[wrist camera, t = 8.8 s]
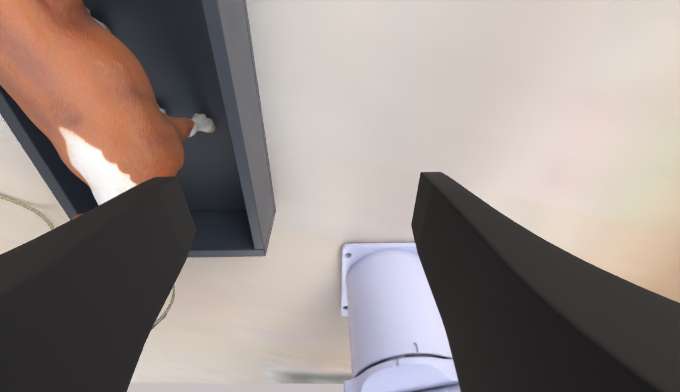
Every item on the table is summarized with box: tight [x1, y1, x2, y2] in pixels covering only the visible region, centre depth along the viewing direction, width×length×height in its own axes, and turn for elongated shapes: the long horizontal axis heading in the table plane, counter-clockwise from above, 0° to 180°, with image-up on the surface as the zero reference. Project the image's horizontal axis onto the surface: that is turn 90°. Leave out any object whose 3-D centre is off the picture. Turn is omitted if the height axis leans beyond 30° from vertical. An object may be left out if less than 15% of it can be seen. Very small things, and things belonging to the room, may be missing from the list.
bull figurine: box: [0, 0, 216, 220], centre depth 13 cm, size 4×13×8 cm, turn 11°
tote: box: [0, 0, 276, 257], centre depth 15 cm, size 18×10×4 cm, turn 179°
